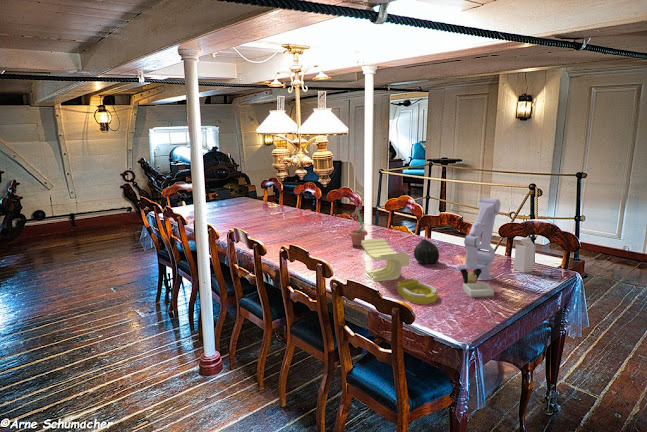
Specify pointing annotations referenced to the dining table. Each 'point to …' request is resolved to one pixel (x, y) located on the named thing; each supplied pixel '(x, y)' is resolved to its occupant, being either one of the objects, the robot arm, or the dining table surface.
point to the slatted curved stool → (383, 251)
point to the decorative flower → (358, 234)
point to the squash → (426, 252)
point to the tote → (478, 290)
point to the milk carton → (524, 255)
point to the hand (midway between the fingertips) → (470, 282)
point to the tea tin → (471, 277)
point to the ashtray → (417, 291)
